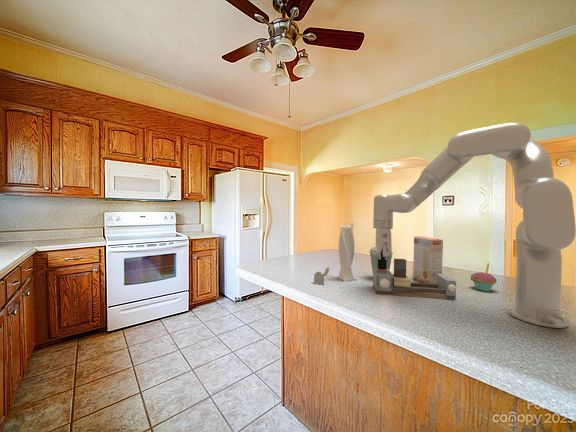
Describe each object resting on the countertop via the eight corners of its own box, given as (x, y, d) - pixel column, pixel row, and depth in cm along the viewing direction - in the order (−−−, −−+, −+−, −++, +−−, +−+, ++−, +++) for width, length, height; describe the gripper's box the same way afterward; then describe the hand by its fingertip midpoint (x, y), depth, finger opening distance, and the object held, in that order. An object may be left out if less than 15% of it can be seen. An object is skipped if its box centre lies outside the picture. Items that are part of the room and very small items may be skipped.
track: (455, 299, 89) (455, 291, 88) (376, 293, 95) (376, 286, 94) (444, 291, 98) (444, 283, 98) (372, 286, 104) (373, 279, 104)
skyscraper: (359, 281, 112) (359, 222, 111) (344, 283, 109) (345, 222, 108) (348, 276, 120) (349, 221, 119) (334, 278, 117) (335, 221, 116)
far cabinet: (392, 295, 93) (393, 275, 92) (376, 294, 94) (376, 274, 94) (387, 287, 103) (387, 268, 103) (372, 286, 104) (373, 267, 104)
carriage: (410, 287, 93) (410, 261, 92) (394, 286, 94) (394, 261, 94) (405, 281, 101) (405, 257, 100) (389, 280, 102) (390, 257, 102)
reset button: (386, 279, 97) (386, 270, 97) (379, 279, 98) (379, 269, 98) (385, 277, 100) (385, 268, 100) (378, 277, 100) (378, 268, 100)
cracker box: (442, 287, 103) (443, 239, 102) (428, 287, 103) (429, 239, 102) (424, 278, 117) (425, 236, 116) (412, 278, 117) (413, 235, 116)
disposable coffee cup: (393, 278, 117) (394, 247, 117) (390, 283, 108) (391, 250, 107) (371, 275, 122) (371, 246, 122) (366, 280, 113) (367, 248, 113)
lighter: (313, 283, 108) (314, 265, 107) (315, 282, 109) (315, 265, 109) (329, 285, 105) (329, 267, 105) (330, 284, 106) (330, 266, 106)
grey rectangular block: (456, 300, 88) (456, 281, 88) (447, 299, 89) (447, 281, 88) (444, 291, 98) (444, 274, 98) (436, 290, 99) (436, 273, 99)
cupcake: (486, 286, 104) (487, 259, 104) (502, 293, 96) (502, 263, 96) (465, 286, 105) (466, 259, 105) (479, 292, 97) (480, 263, 96)
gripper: (396, 226, 90) (395, 274, 91) (388, 224, 105) (388, 265, 105) (375, 225, 92) (375, 273, 92) (371, 223, 106) (370, 264, 107)
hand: (381, 268), depth 99 cm, fingers closed
